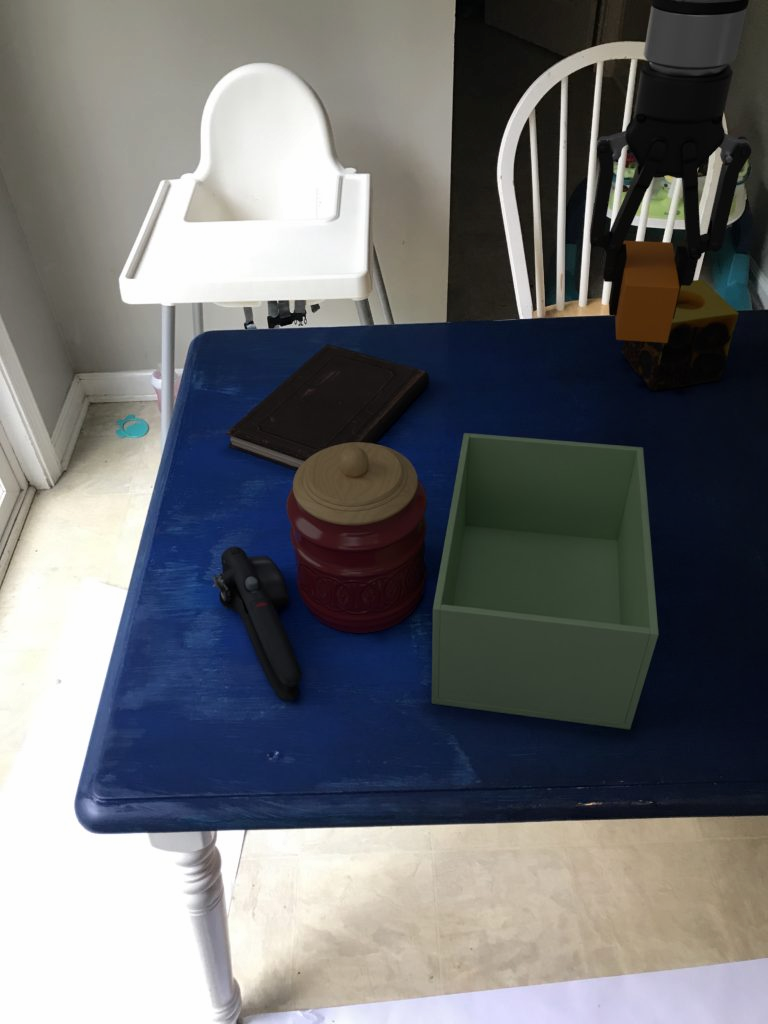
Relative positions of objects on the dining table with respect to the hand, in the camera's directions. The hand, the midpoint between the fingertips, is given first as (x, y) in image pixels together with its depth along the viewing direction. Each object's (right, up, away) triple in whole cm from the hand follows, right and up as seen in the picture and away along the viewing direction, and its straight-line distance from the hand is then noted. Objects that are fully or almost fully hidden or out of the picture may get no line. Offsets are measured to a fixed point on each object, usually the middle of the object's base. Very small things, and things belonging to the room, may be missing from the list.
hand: (640, 310), depth 86 cm
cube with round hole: (+12, -1, +27) cm, 29 cm away
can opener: (-38, -33, -6) cm, 51 cm away
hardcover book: (-33, -9, +21) cm, 40 cm away
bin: (-12, -31, -5) cm, 34 cm away
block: (0, -1, +1) cm, 1 cm away
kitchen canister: (-29, -29, -1) cm, 41 cm away
